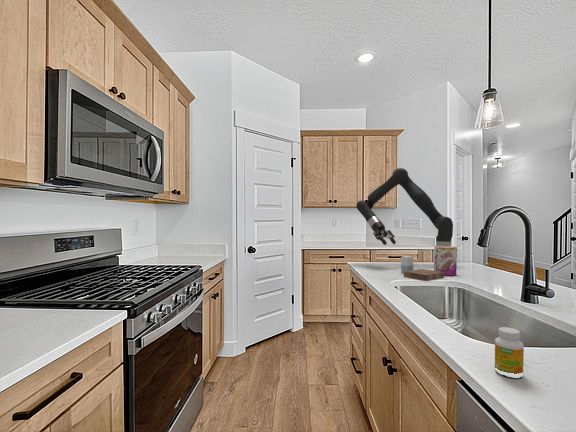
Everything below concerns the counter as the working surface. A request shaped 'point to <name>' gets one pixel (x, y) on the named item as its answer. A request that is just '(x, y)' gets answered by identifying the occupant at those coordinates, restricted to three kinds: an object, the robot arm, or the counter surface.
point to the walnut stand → (423, 274)
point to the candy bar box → (445, 260)
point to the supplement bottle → (509, 351)
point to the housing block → (406, 263)
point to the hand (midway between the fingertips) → (390, 243)
